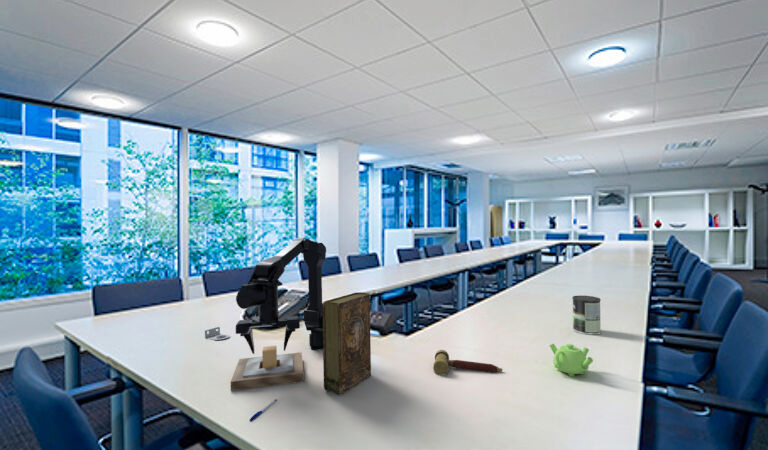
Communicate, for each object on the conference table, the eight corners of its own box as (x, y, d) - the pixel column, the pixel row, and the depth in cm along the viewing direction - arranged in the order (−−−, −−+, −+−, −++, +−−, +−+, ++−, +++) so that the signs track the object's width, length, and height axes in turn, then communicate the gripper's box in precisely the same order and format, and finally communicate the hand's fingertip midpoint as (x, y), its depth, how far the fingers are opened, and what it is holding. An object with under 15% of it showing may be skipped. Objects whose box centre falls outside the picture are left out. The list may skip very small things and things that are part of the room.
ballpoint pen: (252, 422, 83) (252, 418, 83) (249, 422, 84) (249, 417, 84) (277, 401, 94) (277, 397, 94) (274, 400, 94) (274, 397, 94)
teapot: (550, 376, 106) (550, 348, 106) (549, 362, 116) (549, 336, 116) (594, 382, 101) (593, 352, 101) (588, 367, 111) (588, 340, 112)
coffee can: (571, 332, 148) (570, 298, 148) (574, 326, 156) (574, 294, 156) (600, 336, 142) (599, 301, 142) (602, 330, 150) (601, 296, 150)
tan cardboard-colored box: (276, 370, 113) (276, 345, 113) (276, 375, 109) (276, 349, 109) (263, 371, 112) (263, 346, 112) (262, 377, 108) (262, 350, 108)
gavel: (500, 356, 114) (505, 369, 104) (500, 370, 114) (504, 384, 104) (435, 348, 118) (433, 360, 108) (434, 362, 118) (432, 374, 109)
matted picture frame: (301, 359, 122) (301, 351, 122) (303, 381, 105) (303, 371, 105) (239, 366, 117) (239, 357, 117) (230, 390, 100) (230, 379, 100)
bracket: (218, 342, 143) (218, 334, 143) (204, 338, 149) (204, 330, 149) (233, 338, 149) (233, 329, 149) (219, 334, 154) (219, 326, 154)
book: (358, 371, 112) (357, 291, 112) (373, 374, 109) (372, 293, 109) (323, 392, 98) (322, 301, 98) (339, 397, 95) (337, 303, 95)
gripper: (298, 295, 121) (299, 341, 121) (240, 299, 116) (240, 346, 116) (299, 301, 110) (300, 352, 110) (234, 306, 105) (235, 358, 105)
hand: (269, 351), depth 111 cm, fingers open, 9 cm apart
